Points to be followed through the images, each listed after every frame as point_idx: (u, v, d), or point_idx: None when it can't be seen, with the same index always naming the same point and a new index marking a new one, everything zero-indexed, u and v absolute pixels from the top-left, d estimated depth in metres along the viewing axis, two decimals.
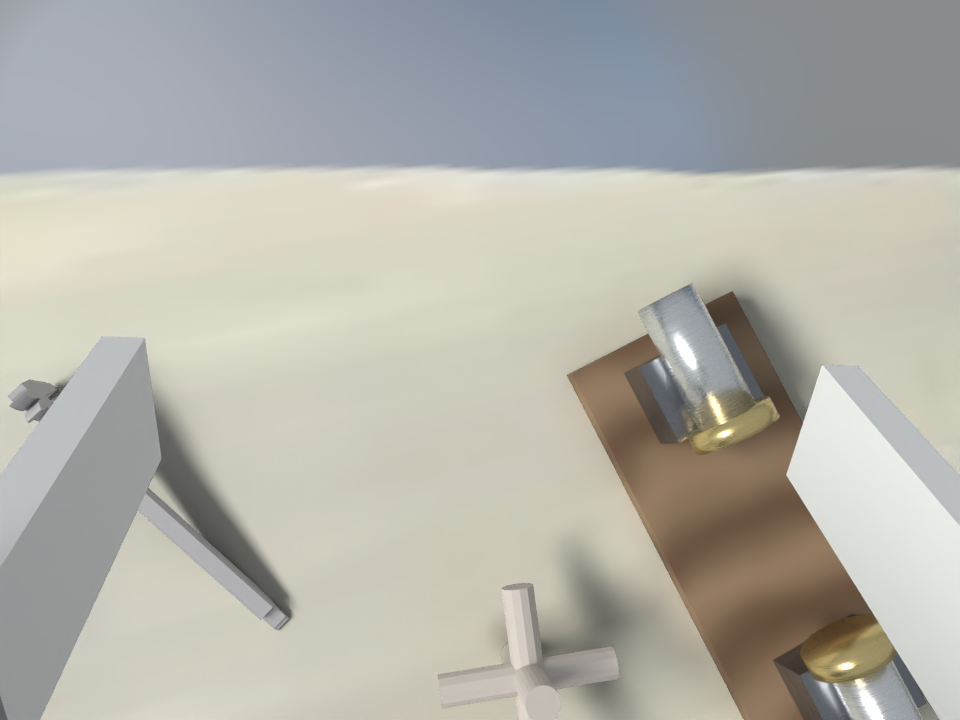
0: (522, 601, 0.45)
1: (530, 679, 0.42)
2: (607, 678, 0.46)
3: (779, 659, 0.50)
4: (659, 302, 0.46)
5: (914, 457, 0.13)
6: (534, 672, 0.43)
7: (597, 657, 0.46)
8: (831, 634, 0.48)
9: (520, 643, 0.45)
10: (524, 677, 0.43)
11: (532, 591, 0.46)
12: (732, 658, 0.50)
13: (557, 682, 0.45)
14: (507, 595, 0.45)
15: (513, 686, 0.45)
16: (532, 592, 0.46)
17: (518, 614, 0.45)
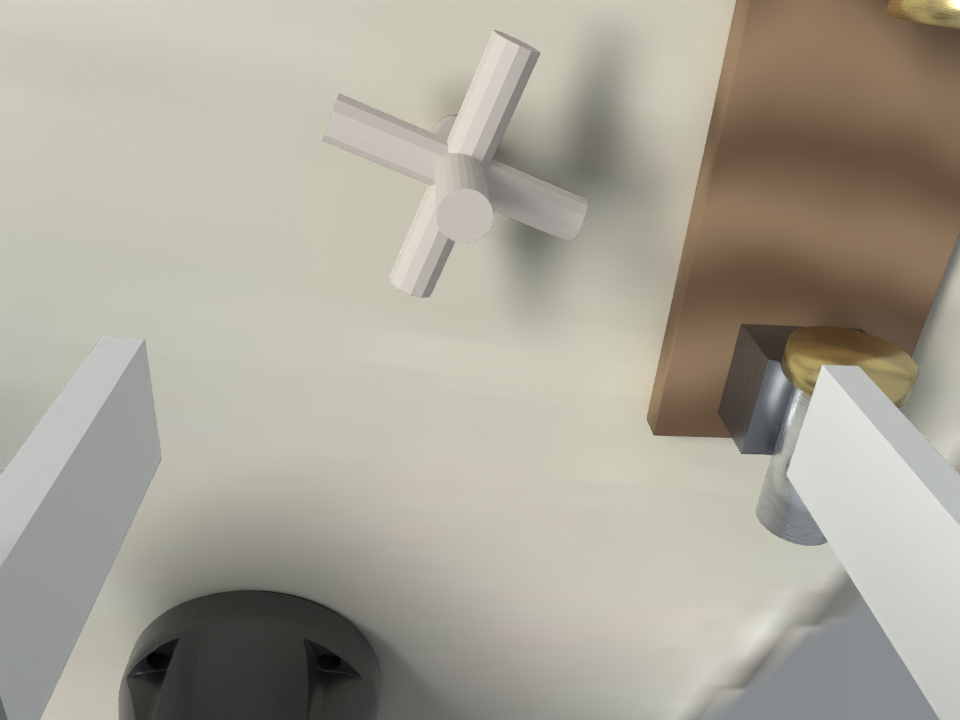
0: (512, 66, 0.28)
1: (464, 174, 0.27)
2: (556, 233, 0.31)
3: (750, 328, 0.38)
4: None
5: (914, 457, 0.13)
6: (473, 169, 0.28)
7: (561, 200, 0.31)
8: (836, 340, 0.35)
9: (476, 121, 0.29)
10: (456, 167, 0.28)
11: (534, 62, 0.28)
12: (701, 296, 0.38)
13: (492, 200, 0.30)
14: (497, 44, 0.28)
15: (433, 170, 0.30)
16: (533, 63, 0.28)
17: (496, 80, 0.28)
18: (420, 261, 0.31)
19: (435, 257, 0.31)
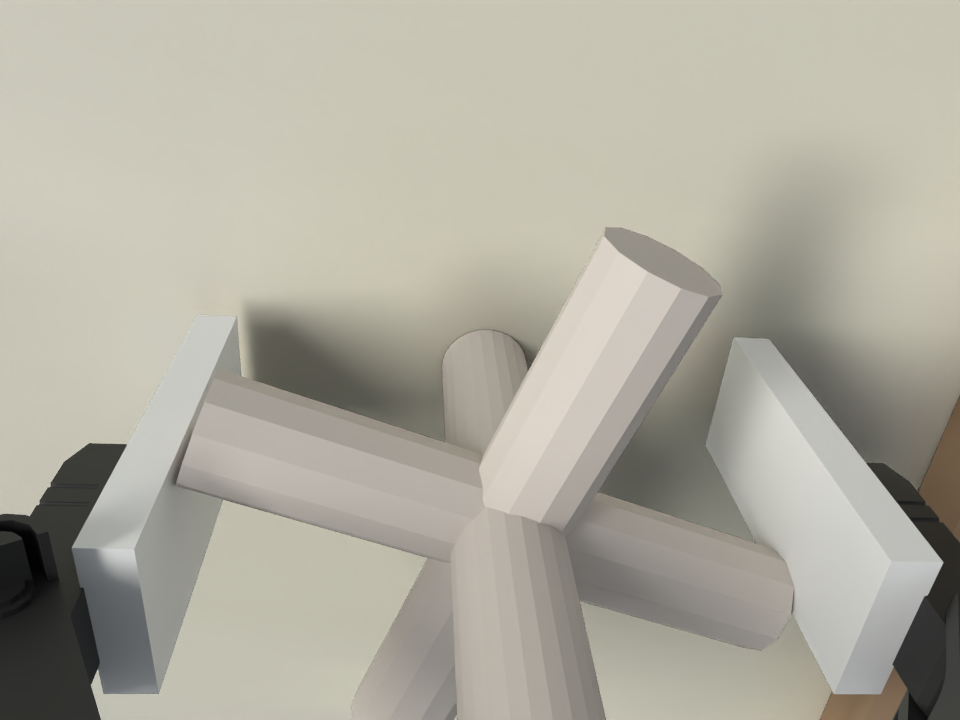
0: (658, 336, 0.11)
1: (535, 655, 0.10)
2: (717, 639, 0.14)
3: None
4: None
5: (804, 419, 0.14)
6: (555, 603, 0.11)
7: (739, 584, 0.13)
8: None
9: (555, 452, 0.11)
10: (511, 604, 0.11)
11: None
12: None
13: (584, 594, 0.13)
14: (617, 278, 0.11)
15: (447, 548, 0.12)
16: (705, 316, 0.11)
17: (613, 366, 0.11)
18: (417, 706, 0.14)
19: (450, 697, 0.14)
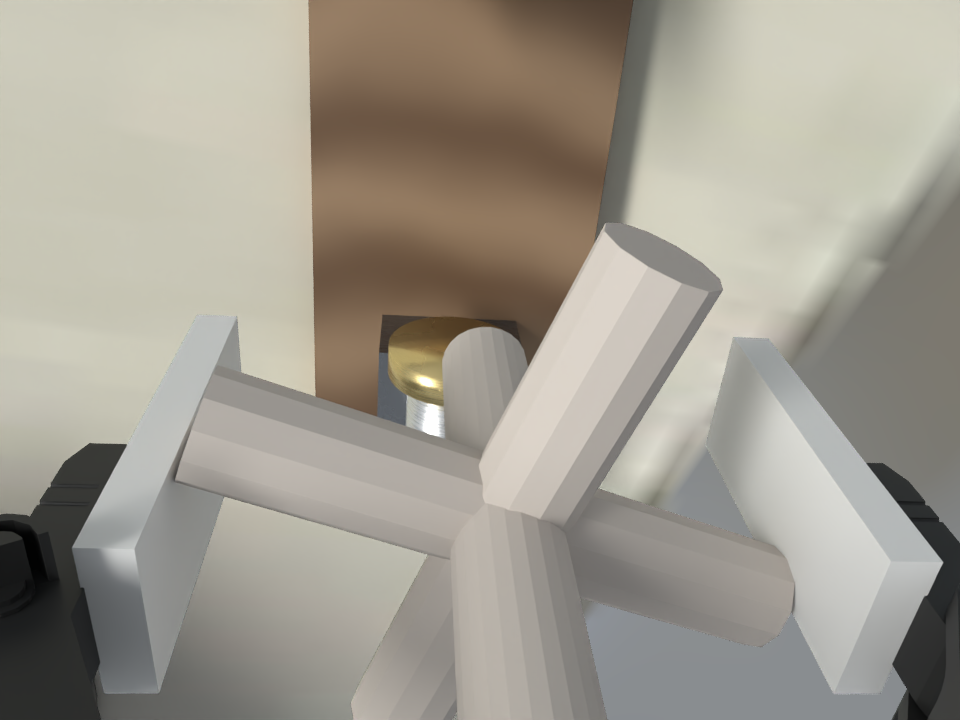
0: (657, 330, 0.11)
1: (536, 651, 0.10)
2: (719, 636, 0.14)
3: (388, 319, 0.36)
4: None
5: (804, 420, 0.14)
6: (555, 598, 0.11)
7: (739, 581, 0.13)
8: (451, 331, 0.33)
9: (556, 448, 0.11)
10: (511, 600, 0.10)
11: None
12: (331, 285, 0.35)
13: (584, 591, 0.13)
14: (618, 273, 0.10)
15: (447, 544, 0.12)
16: None
17: (613, 361, 0.11)
18: (417, 704, 0.14)
19: (450, 694, 0.14)
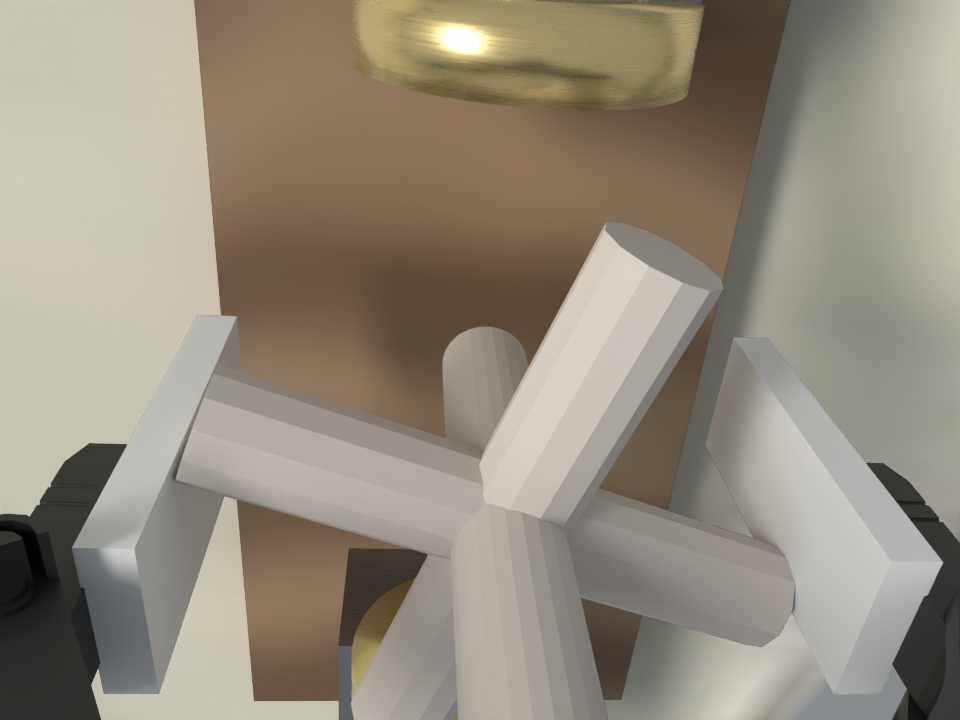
0: (658, 330, 0.11)
1: (536, 651, 0.10)
2: (719, 635, 0.14)
3: (357, 560, 0.23)
4: None
5: (804, 419, 0.14)
6: (556, 598, 0.11)
7: (740, 580, 0.13)
8: None
9: (556, 446, 0.11)
10: (511, 599, 0.10)
11: None
12: (266, 510, 0.22)
13: (585, 591, 0.13)
14: (618, 273, 0.10)
15: (448, 544, 0.12)
16: None
17: (614, 360, 0.11)
18: (417, 703, 0.14)
19: (451, 694, 0.14)
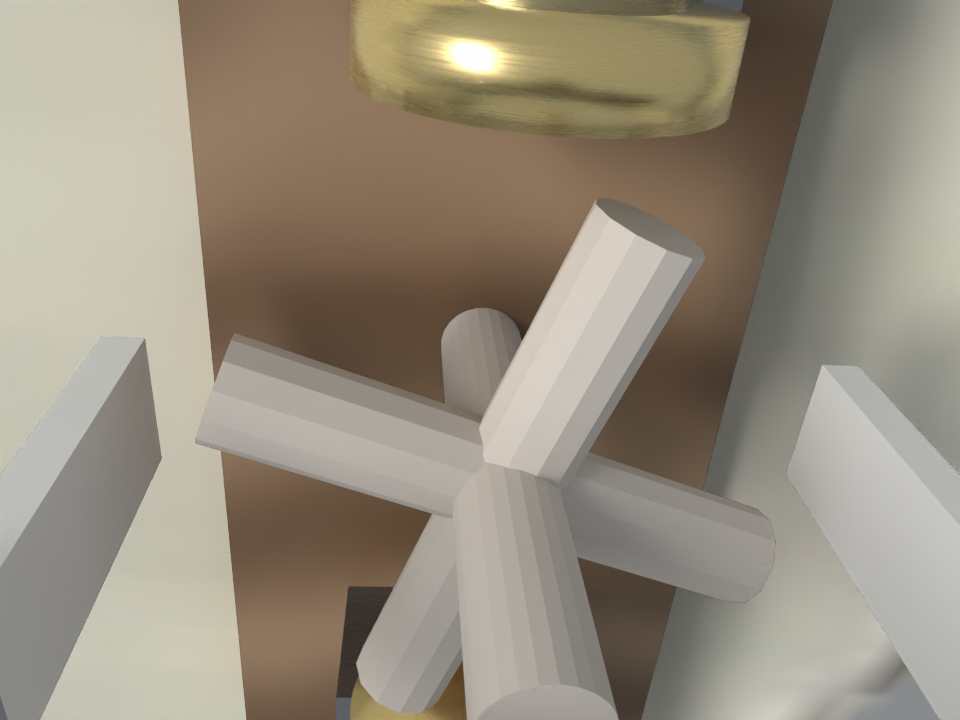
0: (646, 295, 0.11)
1: (535, 587, 0.11)
2: (704, 593, 0.15)
3: (357, 599, 0.21)
4: None
5: (914, 457, 0.13)
6: (552, 544, 0.11)
7: (723, 538, 0.14)
8: None
9: (551, 407, 0.12)
10: (511, 544, 0.11)
11: None
12: (260, 547, 0.21)
13: (578, 547, 0.14)
14: (608, 242, 0.11)
15: (450, 501, 0.13)
16: (689, 278, 0.12)
17: (604, 324, 0.12)
18: (420, 658, 0.15)
19: (452, 649, 0.15)
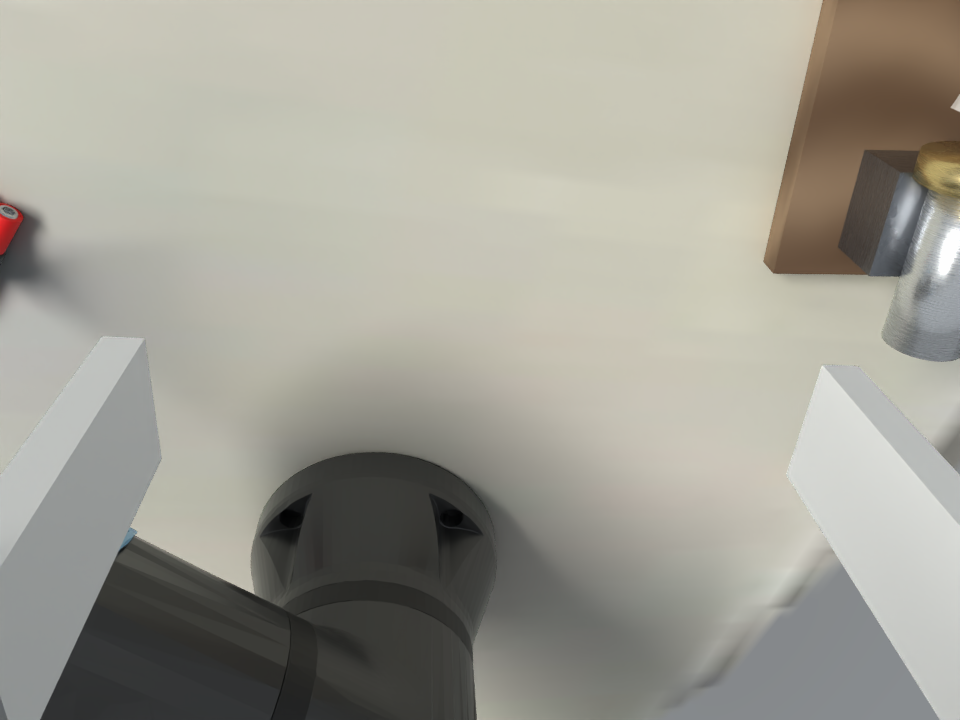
0: None
1: None
2: None
3: (874, 152, 0.39)
4: None
5: (914, 457, 0.13)
6: None
7: None
8: None
9: None
10: None
11: None
12: (826, 120, 0.38)
13: None
14: None
15: None
16: None
17: None
18: None
19: None
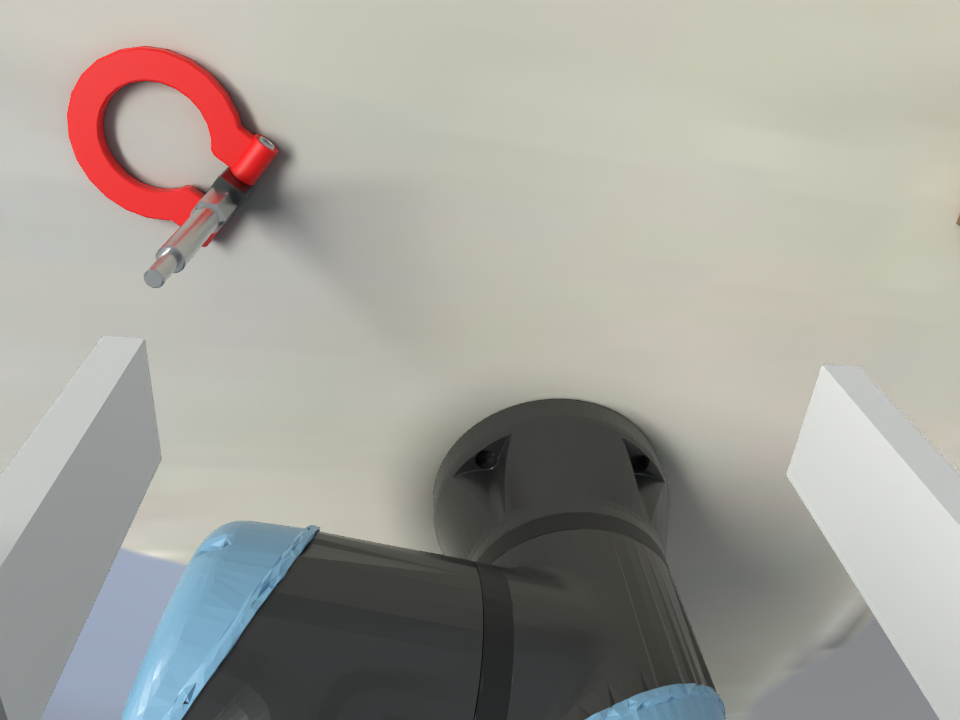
0: None
1: None
2: None
3: None
4: None
5: (914, 457, 0.13)
6: None
7: None
8: None
9: None
10: None
11: None
12: None
13: None
14: None
15: None
16: None
17: None
18: None
19: None
